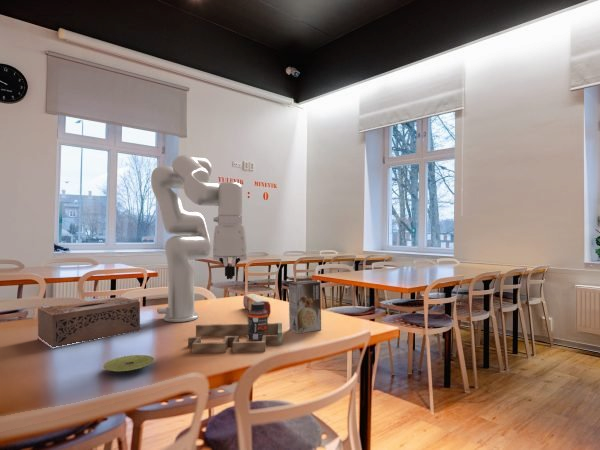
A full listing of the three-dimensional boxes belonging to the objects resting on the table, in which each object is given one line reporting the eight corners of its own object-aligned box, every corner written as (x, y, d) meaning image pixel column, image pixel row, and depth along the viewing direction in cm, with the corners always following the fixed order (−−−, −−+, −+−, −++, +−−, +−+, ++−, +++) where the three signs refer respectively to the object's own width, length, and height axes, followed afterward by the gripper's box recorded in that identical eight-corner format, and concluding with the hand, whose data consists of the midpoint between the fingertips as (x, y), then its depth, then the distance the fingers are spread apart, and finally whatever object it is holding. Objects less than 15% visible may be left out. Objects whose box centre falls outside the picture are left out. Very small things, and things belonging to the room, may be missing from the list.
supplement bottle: (259, 344, 112) (258, 306, 112) (244, 341, 116) (243, 303, 116) (271, 339, 117) (271, 302, 117) (256, 336, 121) (256, 300, 121)
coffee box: (312, 325, 133) (311, 279, 133) (321, 330, 127) (321, 282, 128) (288, 329, 129) (288, 281, 129) (297, 333, 123) (296, 284, 123)
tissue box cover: (52, 349, 110) (52, 315, 110) (38, 340, 120) (38, 308, 120) (140, 331, 129) (139, 301, 129) (121, 324, 139) (121, 296, 139)
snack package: (242, 308, 164) (242, 292, 164) (257, 307, 166) (257, 291, 166) (254, 319, 144) (254, 301, 144) (271, 317, 146) (271, 300, 146)
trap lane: (183, 353, 105) (183, 340, 105) (196, 335, 122) (196, 324, 122) (282, 350, 106) (282, 338, 106) (281, 333, 123) (281, 322, 123)
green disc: (127, 360, 100) (127, 352, 100) (163, 364, 97) (163, 356, 97) (92, 376, 89) (92, 367, 89) (131, 381, 86) (131, 372, 86)
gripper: (204, 221, 118) (203, 280, 118) (252, 221, 119) (252, 280, 119) (208, 221, 125) (208, 276, 126) (254, 221, 126) (254, 276, 126)
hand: (229, 278), depth 122 cm, fingers closed
